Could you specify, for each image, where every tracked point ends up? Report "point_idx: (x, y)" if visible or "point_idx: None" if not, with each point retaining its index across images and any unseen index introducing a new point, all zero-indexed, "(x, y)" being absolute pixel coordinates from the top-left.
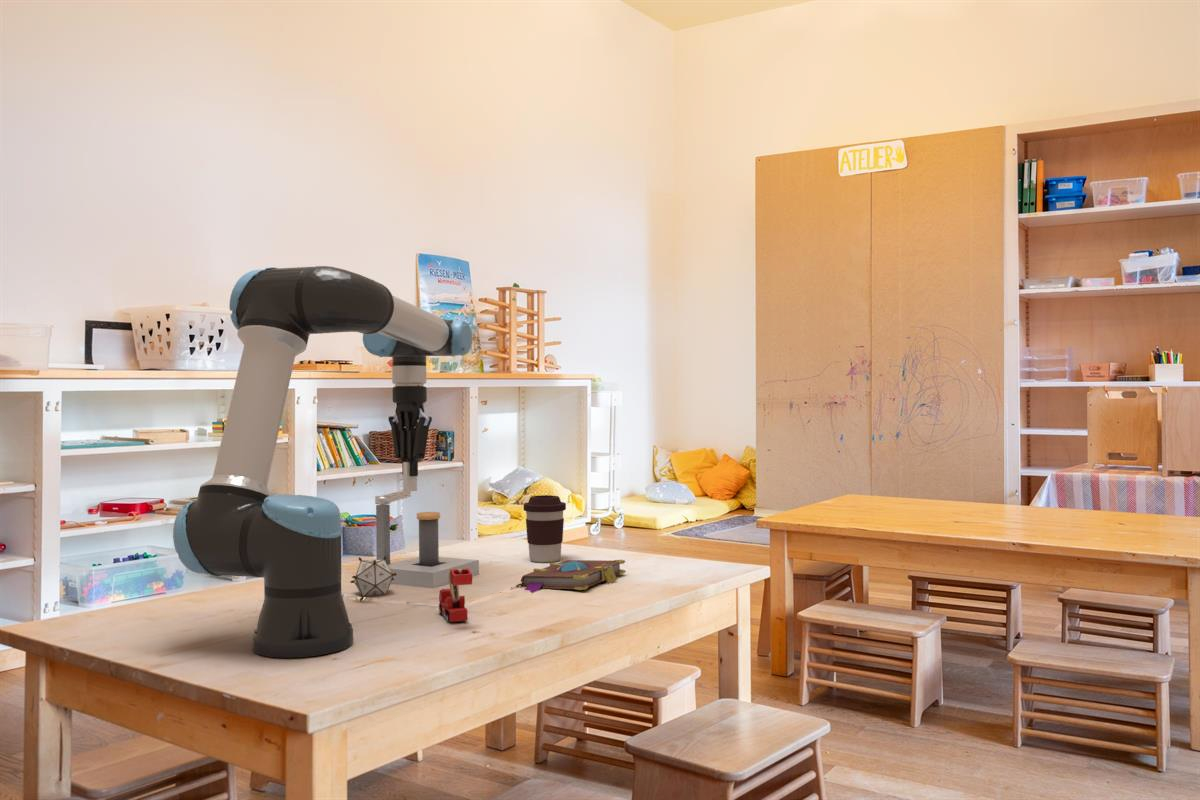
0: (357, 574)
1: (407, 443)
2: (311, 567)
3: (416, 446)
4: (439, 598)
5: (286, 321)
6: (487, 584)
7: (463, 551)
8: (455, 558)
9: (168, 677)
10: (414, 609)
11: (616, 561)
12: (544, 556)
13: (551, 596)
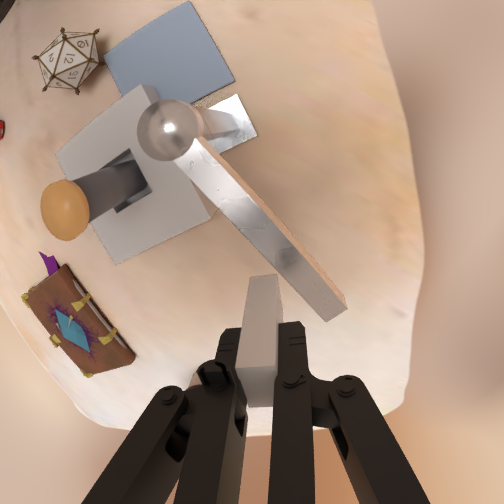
0: (61, 34)
1: (221, 473)
2: None
3: (129, 444)
4: None
5: None
6: (91, 239)
7: (364, 351)
8: (146, 245)
9: None
10: (22, 100)
11: (85, 371)
12: (193, 376)
13: (23, 255)
